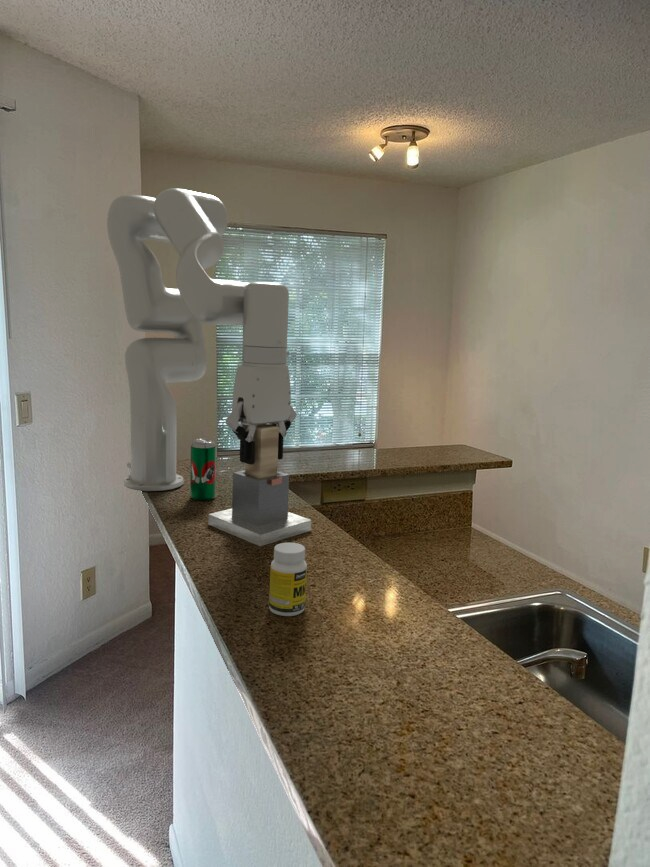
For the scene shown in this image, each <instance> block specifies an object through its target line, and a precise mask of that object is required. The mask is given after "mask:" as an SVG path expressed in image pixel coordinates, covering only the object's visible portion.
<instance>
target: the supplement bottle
mask: <svg viewBox="0 0 650 867" xmlns="http://www.w3.org/2000/svg"><path fill="white" fill-rule="evenodd" d="M305 559H306V547H305V546H304V545H303V544H300V543H297V542H281V543H278V544H276V545H275V546H274V548H273V560H272V561H271V564H270V574H269V596H268V597H269V598H268V609H269V610H270V612H272V613H273V614H275V615H278V616H283V617H295V616H297V615H300V614H302V613H303V612H305V609H306V595H307V578H308V577H307V575H308V574H307V573H308V564H307V562H306V560H305Z"/></svg>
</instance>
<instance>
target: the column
mask: <svg viewBox="0 0 650 867" xmlns="http://www.w3.org/2000/svg"><path fill="white" fill-rule="evenodd" d="M248 427H249V426H247V429H246V432H247V430H248ZM278 437H279V427H278V426H273V425H269V423H268V424H260V425H257V426H256V429H255V432H254V436H253V439H252V441H254V442H255V463H254V464H252V465H250V464H246V463H244V470H245V474H246V475H250V476H253V477H256V478H259V479H261V478H265V477H270V476H275V475H277V471H278V465H279V464H278V463H279V462H278V461H279V459H278Z"/></svg>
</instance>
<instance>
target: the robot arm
mask: <svg viewBox="0 0 650 867" xmlns="http://www.w3.org/2000/svg"><path fill="white" fill-rule="evenodd" d="M106 218H107V219H106V220H107V221H106V229H107V230H106V231H107V236H108V240H109V243H110V246H111V249H112V251H113V255H114V257H115V260H116V263H117V267H118V270H119V277H120V284H121V292H122V298H123V303H124V310H125V318H126V320H127V323H128V325H129V327H130V328H131V329H132V330H134V331H137V332H142V333H157V334H158V333H162V334H163V333H166V334H169V333H170V334H172V336H173V337H143V338H138V339H135V340H134V341H132V342H131V343H129V345H128V346H127V347H126V349H125V352H124V364H125V369H126V376H127V380H128V387H129V403H130V405H129V407H130V408H129V410H130V461H129V462H127V463H126V467H127V468H128V469H129V470H130V475H128V476H125V478H124V479H123V485H124V487H126V488H127V489H131V490H134V491H140V492H141V491H142V492H161V491H168V490H174V489H177V488H179V487H182V486H183V485H184V482H185V481H184V477H183V476H182V475H180V474H178V473H177V436H178V435H177V434H178V433H177V429H178V428H177V426H178V425H177V424H178V423H177V420H178V417H177V416H178V415H177V414H178V413H177V408H178V407H177V402H176V399H175V397H174V395H173V394H172V391H171V390H170V388H169V387H168V385H167V384H170V383H190V382H195V381H199V380H200V379H201V378H203V377H204V375H205V373H206V371H207V366H208V354H207V347H206V339H205V334H204V326H203V324H206V325H224V326H225V325H231V326H242V355H241V356H242V359H241V364H238V365H237V369H236V373H235V377H234V383H233V391H232V392H233V393H232V401H231V412H230V413H229V415H228V416H227V418H226V419H225V424H226V425H227V427H229V428H230V429H231V430H232V431H231V432H233V433H234V434H235V436H236V439H237V440H239V461H240V462H241V463H244V464H245V463H246V464H250V465H252V464H254V463H255V442H254V441H252V439H253V436H254V432H255V429H256V426H257V425H260V424H269V425H273V426H278V427H279V437H278V460H282V459H283V458H284V437H286V436H287V435H288V433H287V431H289V429H290V427H291V426H292V424H293V422H294V421H295V420H296V418H297V415H298V414H297V413H296V411H295V409H294V408H293V406H292V405H291V404H292V394H291V390H292V389H291V377H290V376H291V375H290V370H289V366H288V365H287V358H289V357H290V351H289V350H288V348H287V347H288V334H289V333H288V330H289V329H288V328H289V326H288V324H289V302H290V300H289V299H290V298H289V297H290V296H289V295H290V293H289V289H288V287H287V286H286V285H284V284H282V283H277V282H267V281H266V282H265V281H263V282H260V281H253V282H246V281H236V280H225V279H215V278H212V277H210V276H209V275H208V274H207V272H206V271H205V270H207V269H209V268H211V267H213V266H214V265H215V264H216V263H217V262H218V261H219V260H220V258H222V255H223V254H224V250H225V249H224V248H225V245H224V239H223V235H224V234H225V233H226V231H227V227H228V224H229V216H228V211H227V208H226V206H225V205H224V203H223V201H222V200H220V199H219V197H216V195H215V196H214V195H212V194H208V193H203V192H197V191H193V190H188V189H185V188H178V187H177V188H176V187H174V188H168V189H164V190H163V191H161V192H159V193H158V194H157V195H156V197H152V196H147V195H139V194H123V195H120V196H117V197H116V198H115V199H113V200H112V201H111V203H110V206H109V209H108V212H107V217H106ZM145 241H151V242H152V241H153V242H157V243H158V242H160V243H166V244H171V245H172V247H173V248H174V250H175V251H176V253H177V254H178V256H179V259H178V261H177V264H176V271H175V274H176V275H175V279H176V286H177V287H176V288H169V287H166V285H165V284H164V281H163V275H162V267H161V263H160V261H159V260H158V257H156V255H155V253H153V251H152V250H151V248H150V247H149V246H148V245H147V244H146V242H145ZM247 426H249V427H248V430H247V432H246V429H247Z"/></svg>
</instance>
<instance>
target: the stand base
mask: <svg viewBox="0 0 650 867" xmlns="http://www.w3.org/2000/svg"><path fill="white" fill-rule="evenodd" d="M289 486H290V474H288V473H285V472H282V471H279V470H277V475H275V476H270V477H265V478H261V479H259V478H256V477H253V476H250V475H246V474H245V469H244V470H238V471H235V472H232V493H231V494H232V502H231V505H232V506H231V508H228V509H224V510H219V511H216V512H212V513H209V514H208V526H210V527H213V528H215V529H218V530H220V531H223V532H225V533H227V534H229V535H232V536H235V537H237V538H240V539H242V540H244V541H246V542H249V543H251V544H253V545H256V546H258V547H263V546H266V545H269V544H273V543H275V542H280V541H282V540H286V539H288V538H292V537H294V536H297V535H301V534H304V533H309V532H311V531H312V519H310V518H307V517H304V516H301V515H298V514H295V513H292V512H290V511H289V492H290V491H289V489H290V487H289Z"/></svg>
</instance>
